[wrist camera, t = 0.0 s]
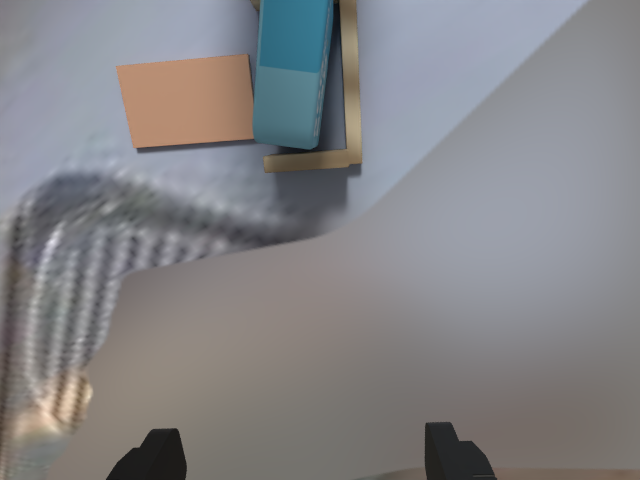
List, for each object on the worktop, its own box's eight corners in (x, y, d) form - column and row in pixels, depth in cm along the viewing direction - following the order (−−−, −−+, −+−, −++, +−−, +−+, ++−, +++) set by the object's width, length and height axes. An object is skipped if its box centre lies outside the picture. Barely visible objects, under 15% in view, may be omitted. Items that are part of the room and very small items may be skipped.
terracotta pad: (119, 67, 35) (115, 66, 35) (248, 55, 35) (247, 53, 34) (136, 147, 38) (133, 148, 37) (258, 138, 37) (257, 138, 36)
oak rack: (254, -7, 33) (241, -32, 28) (354, -17, 32) (357, -44, 28) (273, 168, 38) (264, 172, 33) (361, 162, 37) (365, 165, 32)
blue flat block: (318, 146, 37) (311, 150, 25) (276, 141, 37) (250, 142, 25) (333, 19, 33) (333, -43, 22) (287, 13, 33) (263, -53, 22)
